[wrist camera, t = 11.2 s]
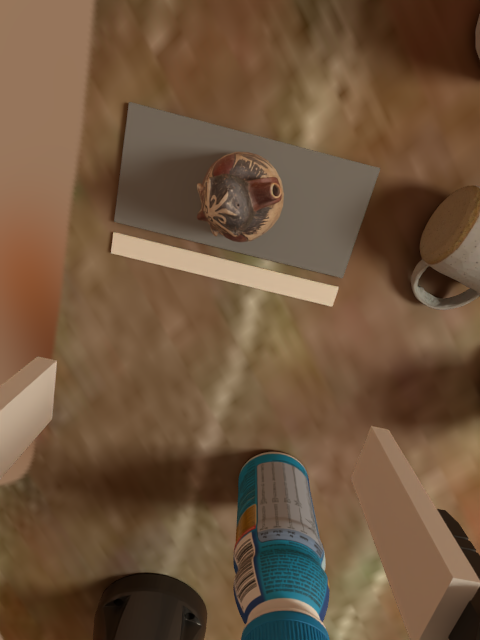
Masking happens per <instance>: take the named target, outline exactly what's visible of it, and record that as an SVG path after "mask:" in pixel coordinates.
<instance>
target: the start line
mask: <svg viewBox="0 0 480 640" xmlns="http://www.w3.org/2000/svg"><path fill="white" fill-rule="evenodd" d="M111 253H113V254H117V255H121V256H125V257H129V258H133V259H138V260H142V261H146V262H150V263H154V264H158V265H162V266H166V267H171V268H175V269H179V270H183V271H187V272H191V273H195V274H199V275H204V276H208V277H212V278H216V279H220V280H224V281H228V282H232V283H237V284H241V285H245V286H249V287H253V288H257V289H261V290H266V291H270V292H274V293H278V294H282V295H286V296H290V297H294V298H299V299H303V300H307V301H311V302H315V303H319V304H323V305H327V306H333V303H334V300H335V297H336V294H337V291H338V288H339V287H337V286H333V285H329V284H325V283H321V282H317V281H313V280H309V279H305V278H300V277H296V276H292V275H288V274H284V273H280V272H276V271H272V270H268V269H264V268H260V267H256V266H252V265H248V264H243V263H239V262H235V261H231V260H227V259H223V258H219V257H215V256H211V255H207V254H203V253H199V252H195V251H190V250H186V249H182V248H178V247H174V246H170V245H166V244H162V243H158V242H154V241H150V240H146V239H142V238H138V237H133V236H129V235H125V234H121V233H117V232H113V240H112V248H111Z"/></svg>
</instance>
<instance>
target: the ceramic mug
mask: <svg viewBox="0 0 480 640" xmlns="http://www.w3.org/2000/svg"><path fill="white" fill-rule="evenodd" d="M420 254H421V258H422V260H421V261H420V262H419V263H418V264H417V265H416V267H415V269H414V271H413V273H412V277H411V285H412V290H413V293H414V295H415V297H416V298H417V299H418V300H419V301H420V302H421V303H423V304H424V305H426V306H428V307H430V308H433V309H438V310H447V309H453V308H457V307H460V306H463V305H465V304H468V303H470V302H471V301H473V300H475V299H476V298H478V297H479V296H480V187H479V186H466V187H463V188H461V189H459V190H457V191H455V192H453V193H452V194H451V195H449V196H448V197H447V198H446V199H445V200H444V201H443V202H442V203H441V204H440V205H439V206H438V208H437V209H436V210H435V212H434V213H433V215H432V216H431V218H430V219H429V221H428V223H427V225H426V227H425V229H424V231H423V233H422V237H421V240H420ZM429 266H431V267H432V268H433V269H434V270H436V271H438V272H440V273H442V274H444V275H446V276H448V277H450V278H452V279H454V280H456V281H458V282H460V283H462V284H464V285H465V286H467V287H469V288H470V289H468V290H467V291H465V292H463V293H461V294H459V295H457V296H454V297H450V298H444V299H442V298H436V297H434V296H433V295H431V294H429V293H427V292H426V291H425V290H424V289H423V287H419V286H418V279H419V278H420V277H421V275H422V273H423V272H424V271H425V270H426V268H428V267H429Z"/></svg>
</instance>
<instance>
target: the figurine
mask: <svg viewBox="0 0 480 640" xmlns="http://www.w3.org/2000/svg"><path fill="white" fill-rule="evenodd" d="M197 190H198V192H199V195H200V200H201V210H200V212H199V213H198V214H197V219H198V220H202V221H206V222H208V223H209V225H210V227H211V231H212V233H213V235H214V236H217V235H218V233H220V234H222V235H223V236H224V237H226V238H227V239H229V240H232V241H235V242H248V241H252V240H254V239H256V238H259V237H260V236H261V235H263V234H264V233H266V232H267V231H268V230H269V229H270V228H271V227H272V226H273V225H274V224H275V223H276V221H277V220H278V219H279V217H280V214H281V211H282V208H283V200H284V192H283V186H282V181H281V179H280V177H279V175H278V173H277V171H276V169H275V168H274V167H273V166H272V165H271V164H270V162H269V161H268V160H266V159H264V158H263V157H261V156H259V155H257V154H253V153H249V152H234V153H231V154H227V155H224V156H223V157H221V158H220V159H218V160H216V161H215V162H214V163H213V164H212V165H211V167H210V168H209V170H208V171H207V173H206V175H205V178H204V180H203V183H202V184H200V183H198V184H197Z"/></svg>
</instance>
